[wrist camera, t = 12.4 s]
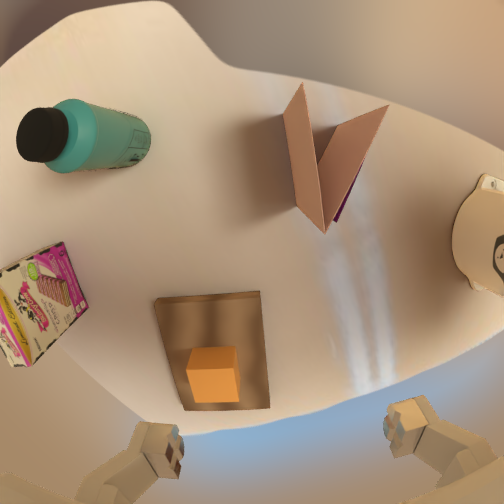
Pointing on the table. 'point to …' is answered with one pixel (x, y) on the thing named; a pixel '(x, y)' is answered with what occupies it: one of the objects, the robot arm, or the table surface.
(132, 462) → the robot arm
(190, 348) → the base plate
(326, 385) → the table surface
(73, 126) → the beverage bottle
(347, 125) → the greeting card
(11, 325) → the candy bar box
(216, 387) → the orange wooden cube
